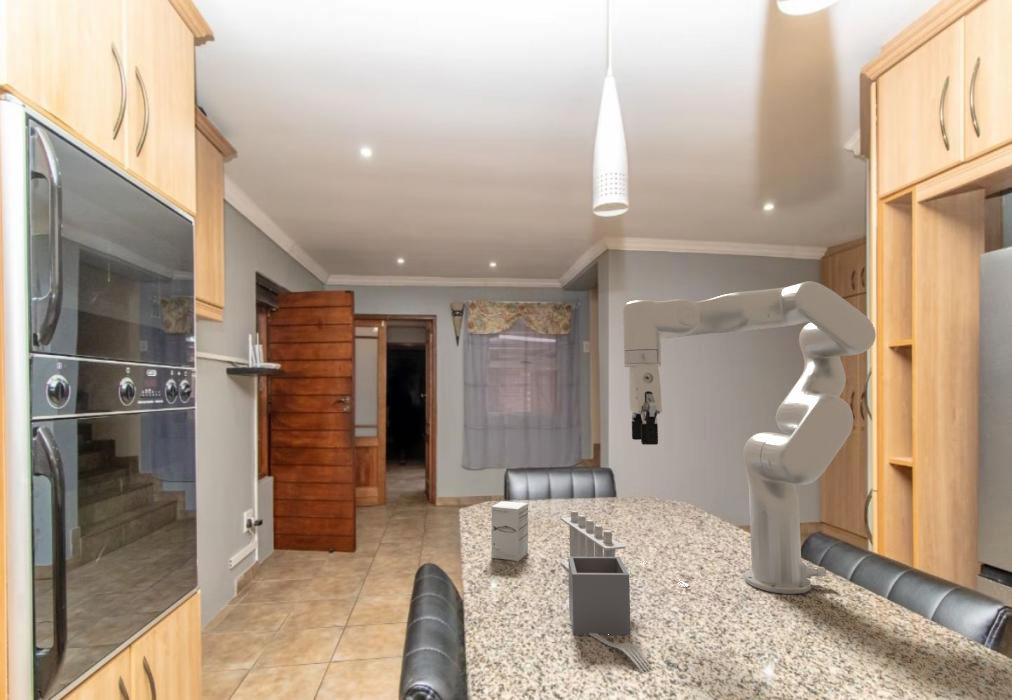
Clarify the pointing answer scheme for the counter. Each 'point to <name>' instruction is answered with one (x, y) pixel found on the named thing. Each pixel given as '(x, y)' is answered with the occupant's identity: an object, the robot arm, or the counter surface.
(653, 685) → the counter surface
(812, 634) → the counter surface
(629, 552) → the counter surface
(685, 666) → the counter surface
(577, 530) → the test tube rack
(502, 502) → the supplement box
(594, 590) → the grey open square box
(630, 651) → the fork
